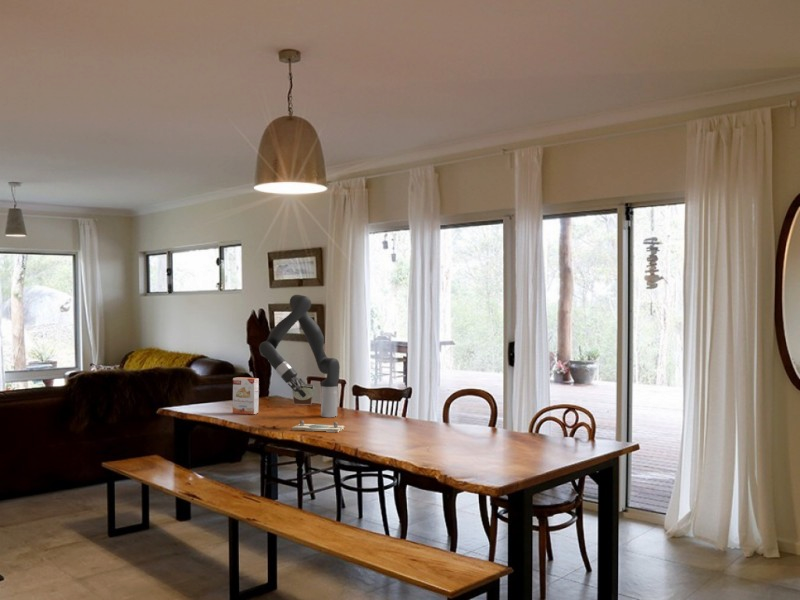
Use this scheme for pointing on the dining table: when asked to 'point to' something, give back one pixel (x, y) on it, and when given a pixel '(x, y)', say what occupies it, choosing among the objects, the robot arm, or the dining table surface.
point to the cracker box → (245, 395)
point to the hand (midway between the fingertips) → (307, 395)
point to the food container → (308, 398)
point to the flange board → (318, 427)
